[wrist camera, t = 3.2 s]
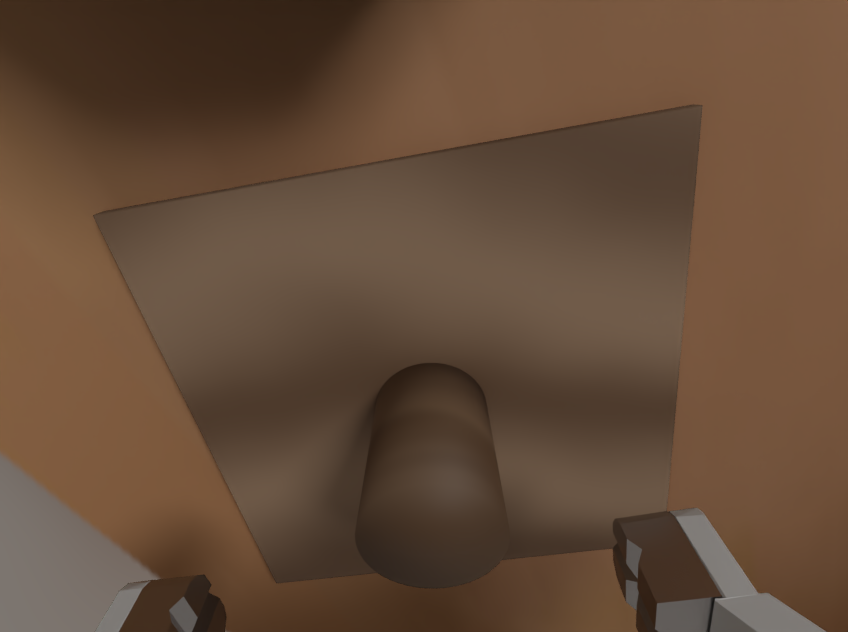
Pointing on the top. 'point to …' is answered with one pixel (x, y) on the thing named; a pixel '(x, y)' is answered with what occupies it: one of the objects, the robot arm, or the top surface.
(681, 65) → the top surface
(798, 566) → the top surface
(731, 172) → the top surface
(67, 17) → the top surface
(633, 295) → the lid
